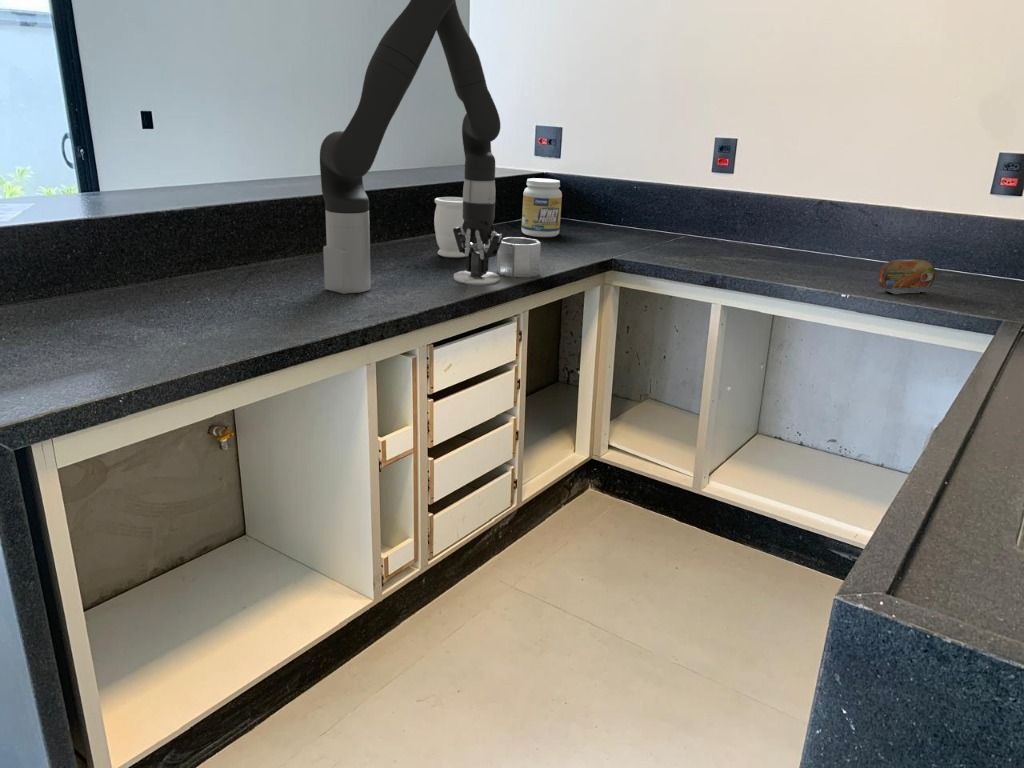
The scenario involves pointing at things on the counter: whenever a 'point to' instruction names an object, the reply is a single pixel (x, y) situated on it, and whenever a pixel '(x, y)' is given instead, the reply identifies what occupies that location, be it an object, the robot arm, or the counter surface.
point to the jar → (448, 225)
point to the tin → (907, 274)
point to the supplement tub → (541, 208)
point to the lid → (476, 274)
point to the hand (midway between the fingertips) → (476, 272)
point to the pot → (519, 257)
